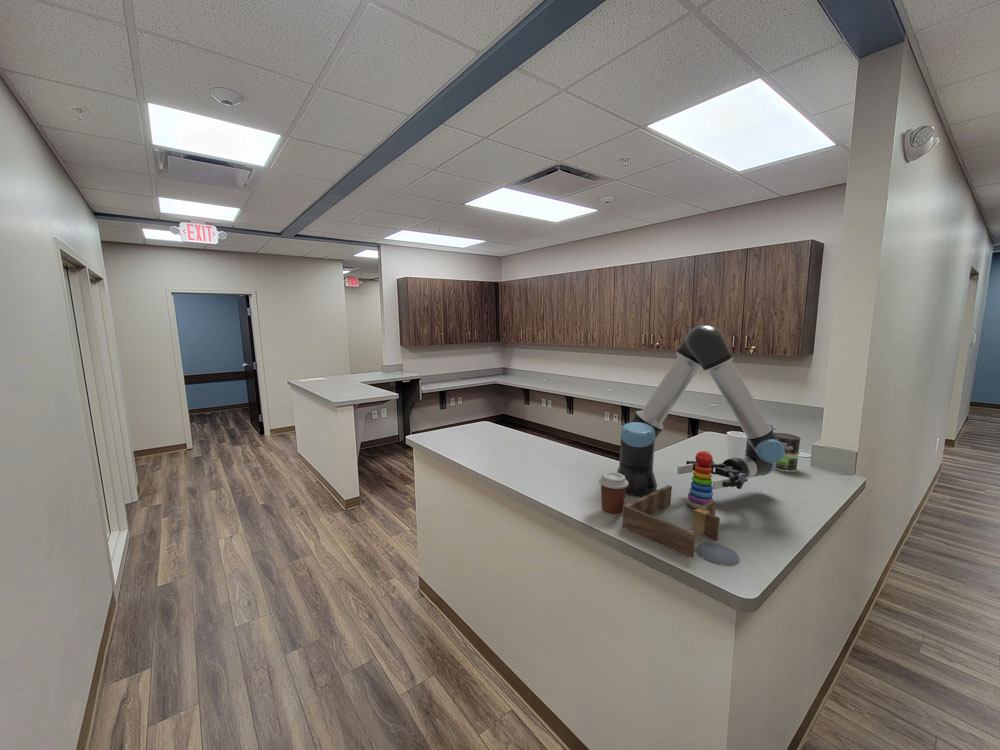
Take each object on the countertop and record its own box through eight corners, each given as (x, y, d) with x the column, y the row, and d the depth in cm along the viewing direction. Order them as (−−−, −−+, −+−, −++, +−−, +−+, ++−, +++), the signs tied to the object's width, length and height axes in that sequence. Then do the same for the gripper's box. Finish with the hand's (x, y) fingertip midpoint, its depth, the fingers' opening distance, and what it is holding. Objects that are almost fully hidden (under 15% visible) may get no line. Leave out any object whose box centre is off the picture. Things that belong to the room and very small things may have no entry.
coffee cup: (592, 511, 127) (593, 475, 126) (605, 502, 134) (607, 468, 133) (619, 521, 121) (621, 483, 120) (631, 511, 128) (633, 475, 127)
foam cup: (754, 466, 171) (756, 437, 169) (732, 466, 171) (735, 437, 169) (741, 459, 180) (743, 431, 179) (720, 459, 180) (722, 431, 179)
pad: (700, 561, 101) (700, 559, 101) (692, 541, 111) (692, 539, 111) (744, 568, 98) (744, 566, 98) (732, 547, 108) (733, 545, 108)
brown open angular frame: (691, 559, 102) (693, 535, 101) (622, 526, 118) (623, 505, 117) (733, 528, 118) (735, 507, 117) (667, 503, 134) (668, 485, 133)
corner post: (703, 535, 114) (705, 514, 113) (692, 531, 116) (694, 510, 115) (708, 532, 115) (709, 511, 115) (697, 528, 118) (699, 507, 117)
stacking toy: (716, 512, 128) (721, 456, 125) (690, 510, 129) (694, 454, 127) (709, 502, 135) (713, 449, 133) (684, 499, 137) (687, 447, 135)
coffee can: (795, 474, 163) (798, 440, 161) (765, 467, 170) (768, 435, 168) (798, 467, 170) (802, 435, 168) (769, 462, 177) (773, 431, 175)
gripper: (774, 492, 128) (730, 504, 119) (706, 467, 150) (664, 475, 142) (776, 470, 127) (732, 480, 118) (707, 447, 149) (666, 454, 141)
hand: (695, 477), depth 130 cm, fingers open, 13 cm apart
